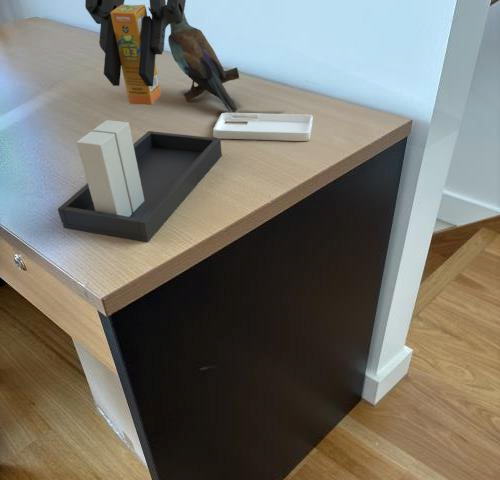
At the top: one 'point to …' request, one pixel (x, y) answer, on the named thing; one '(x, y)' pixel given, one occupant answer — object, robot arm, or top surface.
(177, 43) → the bird figurine
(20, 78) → the top surface
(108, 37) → the robot arm
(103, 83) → the top surface
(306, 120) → the phone case
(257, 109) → the top surface
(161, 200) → the tray
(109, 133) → the white boxes
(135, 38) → the supplement box
